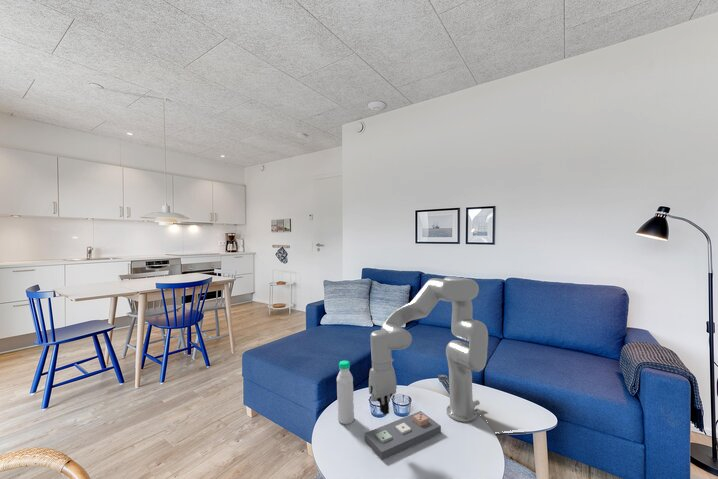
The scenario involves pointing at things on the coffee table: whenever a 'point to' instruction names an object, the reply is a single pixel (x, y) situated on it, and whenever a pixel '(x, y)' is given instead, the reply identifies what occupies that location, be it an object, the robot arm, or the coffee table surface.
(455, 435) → the coffee table surface
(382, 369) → the robot arm
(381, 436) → the two pip key
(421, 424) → the three pip key
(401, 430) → the one pip key
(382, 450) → the key board
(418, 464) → the coffee table surface
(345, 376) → the water bottle
